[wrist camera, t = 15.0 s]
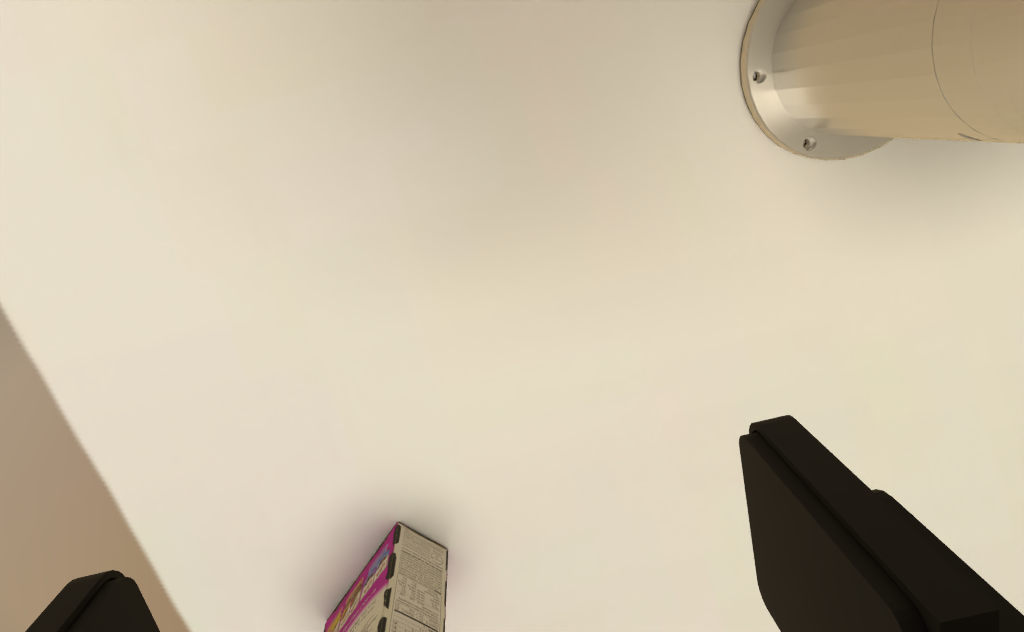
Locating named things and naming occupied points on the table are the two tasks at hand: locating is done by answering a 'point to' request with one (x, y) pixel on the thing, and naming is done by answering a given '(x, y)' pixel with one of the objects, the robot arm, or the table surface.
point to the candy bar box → (397, 588)
